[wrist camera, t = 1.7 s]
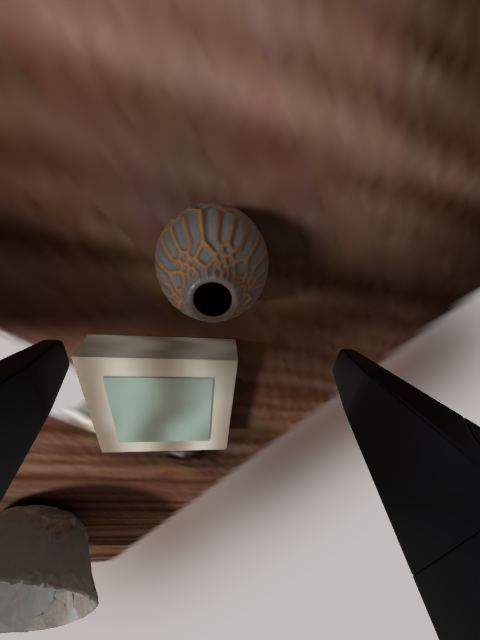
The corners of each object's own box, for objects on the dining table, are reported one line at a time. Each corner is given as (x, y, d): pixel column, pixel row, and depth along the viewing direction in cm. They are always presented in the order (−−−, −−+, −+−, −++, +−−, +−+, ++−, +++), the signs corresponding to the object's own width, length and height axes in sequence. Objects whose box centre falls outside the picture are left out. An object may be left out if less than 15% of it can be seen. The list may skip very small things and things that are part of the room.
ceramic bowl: (-65, 530, 38) (-144, 635, 30) (-25, 458, 30) (-120, 575, 21) (83, 551, 47) (55, 636, 38) (145, 499, 39) (126, 594, 30)
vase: (276, 252, 20) (313, 308, 12) (209, 303, 21) (206, 378, 14) (218, 172, 16) (222, 180, 9) (145, 240, 18) (98, 293, 11)
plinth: (112, 426, 29) (101, 454, 26) (87, 334, 22) (70, 358, 19) (225, 425, 30) (226, 451, 28) (235, 339, 24) (238, 362, 21)
